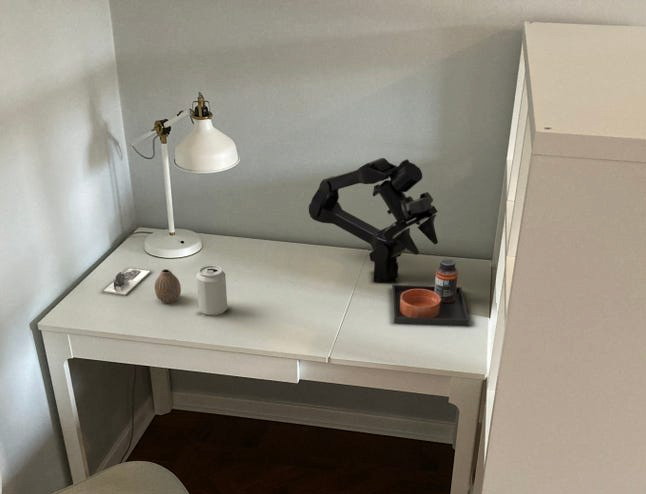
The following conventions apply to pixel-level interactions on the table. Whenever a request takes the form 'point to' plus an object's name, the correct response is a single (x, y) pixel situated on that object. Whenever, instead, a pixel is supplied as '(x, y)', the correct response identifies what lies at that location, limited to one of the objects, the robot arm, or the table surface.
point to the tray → (447, 316)
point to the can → (212, 290)
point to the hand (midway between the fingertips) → (427, 248)
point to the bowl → (420, 303)
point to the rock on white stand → (126, 281)
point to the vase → (167, 287)
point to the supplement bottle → (446, 280)
